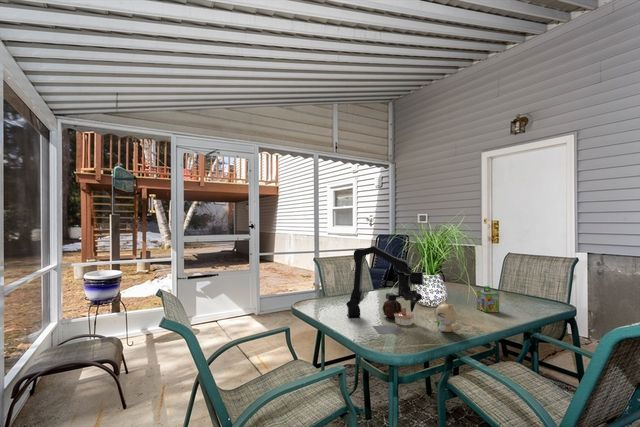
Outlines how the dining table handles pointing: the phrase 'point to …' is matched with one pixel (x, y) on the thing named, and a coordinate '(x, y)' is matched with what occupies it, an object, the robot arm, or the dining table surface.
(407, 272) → the robot arm
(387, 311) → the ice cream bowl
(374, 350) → the dining table surface
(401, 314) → the lid
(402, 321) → the bowl
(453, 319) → the kitten
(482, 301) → the chalk box
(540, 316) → the dining table surface
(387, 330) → the mat
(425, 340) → the dining table surface
